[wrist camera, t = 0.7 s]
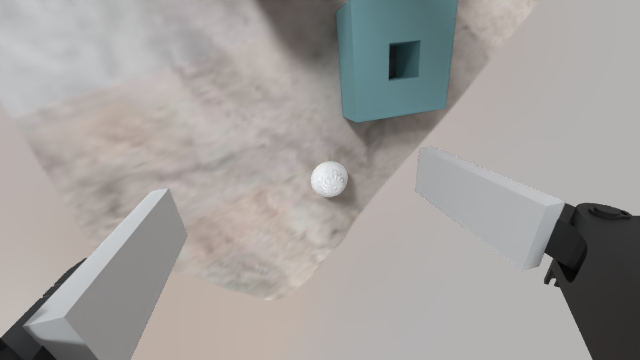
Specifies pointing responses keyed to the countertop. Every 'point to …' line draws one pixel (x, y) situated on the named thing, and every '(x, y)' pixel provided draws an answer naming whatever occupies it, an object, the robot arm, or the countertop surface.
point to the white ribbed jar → (329, 179)
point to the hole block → (412, 56)
